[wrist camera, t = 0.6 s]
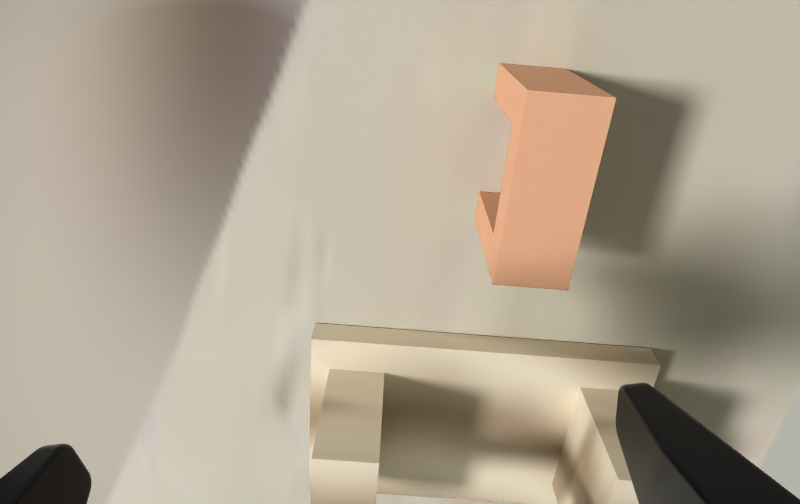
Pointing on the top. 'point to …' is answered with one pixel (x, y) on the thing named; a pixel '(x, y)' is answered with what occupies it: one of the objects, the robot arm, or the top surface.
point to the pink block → (543, 175)
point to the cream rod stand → (468, 417)
